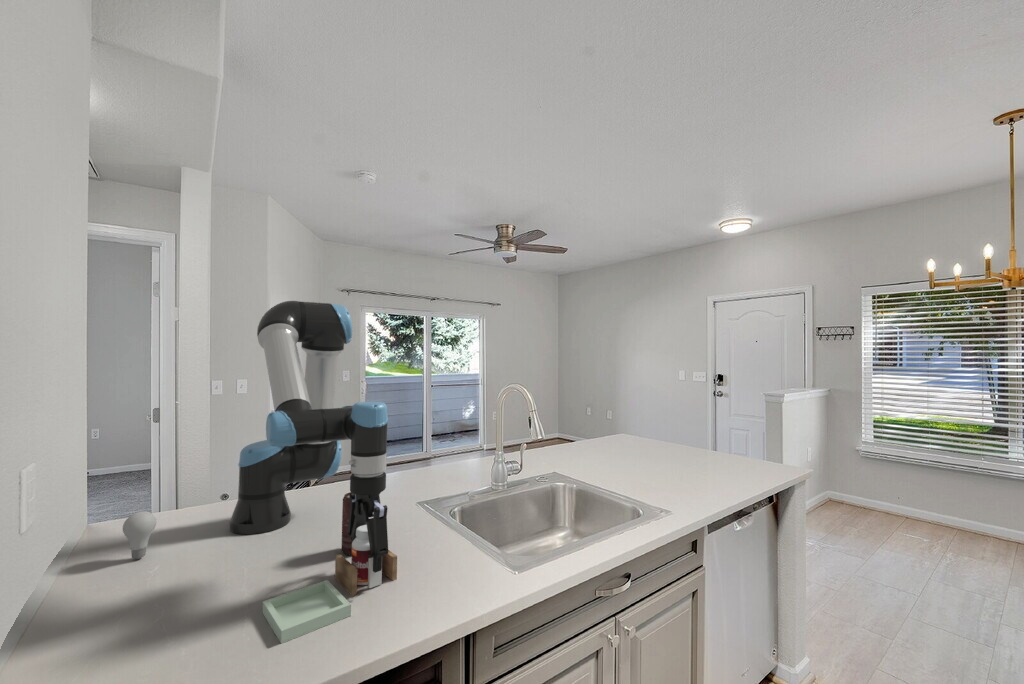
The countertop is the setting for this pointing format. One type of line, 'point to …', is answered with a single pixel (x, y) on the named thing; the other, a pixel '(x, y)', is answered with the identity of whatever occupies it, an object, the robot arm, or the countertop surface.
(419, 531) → the countertop surface
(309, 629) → the tray
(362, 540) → the pill bottle
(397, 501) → the countertop surface
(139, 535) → the lightbulb
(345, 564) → the rack
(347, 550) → the can
